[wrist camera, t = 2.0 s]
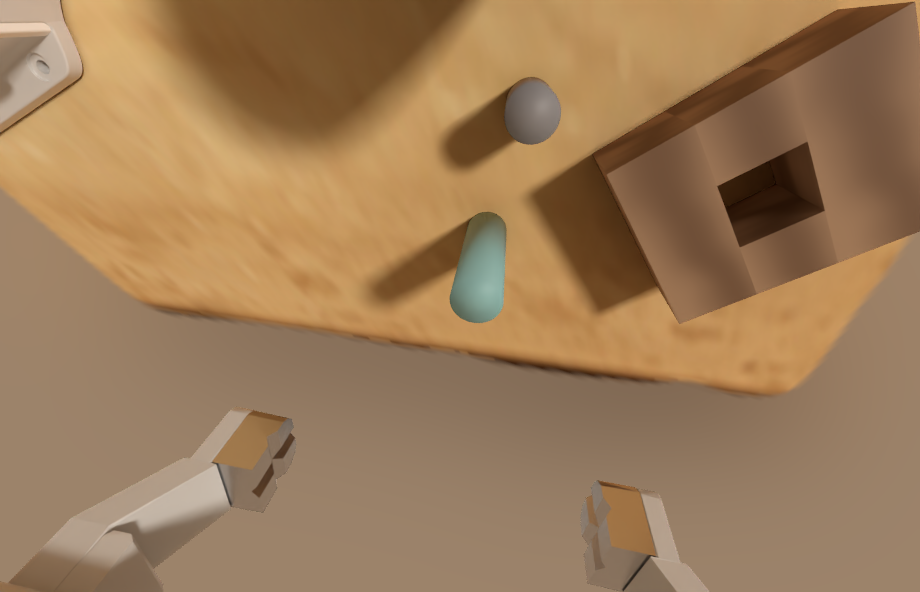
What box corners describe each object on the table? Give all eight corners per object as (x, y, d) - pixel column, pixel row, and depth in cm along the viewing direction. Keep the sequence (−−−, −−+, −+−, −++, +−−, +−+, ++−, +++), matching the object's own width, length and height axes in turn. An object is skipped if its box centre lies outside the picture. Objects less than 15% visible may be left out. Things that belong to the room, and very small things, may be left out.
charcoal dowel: (520, 137, 27) (521, 155, 23) (497, 96, 26) (493, 106, 22) (561, 110, 26) (570, 124, 22) (539, 66, 25) (544, 71, 21)
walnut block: (657, 286, 32) (679, 323, 27) (592, 154, 27) (606, 174, 23) (872, 194, 26) (940, 223, 22) (837, 9, 22) (915, 1, 18)
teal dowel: (480, 254, 32) (468, 330, 24) (459, 224, 31) (439, 292, 22) (513, 236, 31) (513, 309, 22) (493, 204, 30) (484, 268, 21)
